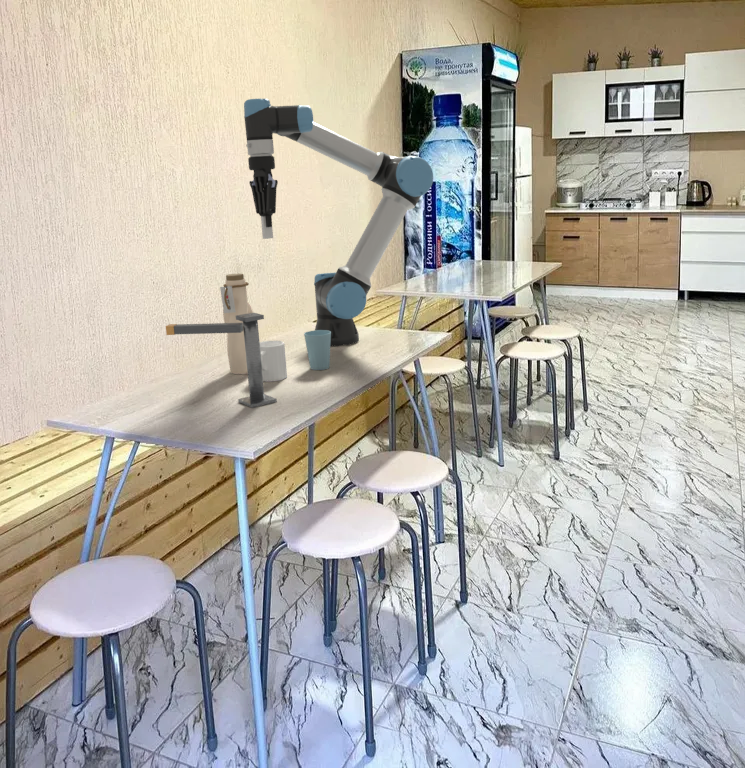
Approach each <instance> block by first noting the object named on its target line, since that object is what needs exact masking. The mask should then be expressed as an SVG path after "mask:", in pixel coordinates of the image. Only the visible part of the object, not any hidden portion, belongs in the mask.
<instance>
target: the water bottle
mask: <svg viewBox="0 0 745 768" xmlns="http://www.w3.org/2000/svg"><path fill="white" fill-rule="evenodd" d="M249 285H250V284H249V282H247V281H246V279H245V277H244V273H230V274H229V273H228V274H226V275H225V283H224V284H223V285H222V286H220V287H219V290H220V296H221V301H222V308H223V309H222V316H223V317H222V318H223V321H224V322H223V323H243V321H239V320H236V315H242V314H248V313H255V312H254V310H253V307H252V305H251V304H250V303H249V301H248V292H247V286H249ZM226 335H227V337H226V340H227V341H226V348H227V349H226V350H227V358H228V363H229V371H230V374H232V375H233V374H234V375H246V374H247V375H248V373H247V362H246V351H245V341H244V330H243V331H242V332H241V333H226Z"/></svg>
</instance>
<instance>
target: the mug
mask: <svg viewBox="0 0 745 768" xmlns="http://www.w3.org/2000/svg"><path fill="white" fill-rule="evenodd" d="M259 342H260V353H261V364H262V376H263V382H265V383H267V382H269V383H270V382H278V381H283V380H285V379H287V378H288V372H287V371H288V370H287V369H288V368H287V362H286V361H287V359H286V345H285V342H284V341H282V340H265V341H259Z"/></svg>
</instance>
